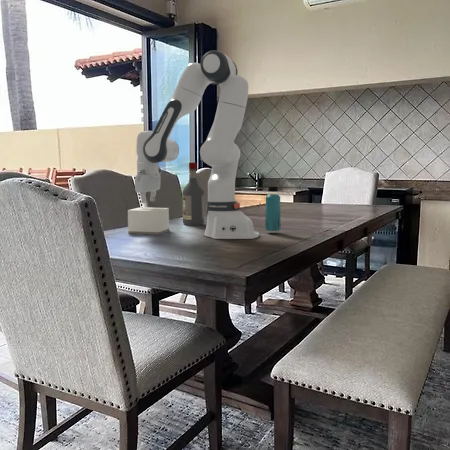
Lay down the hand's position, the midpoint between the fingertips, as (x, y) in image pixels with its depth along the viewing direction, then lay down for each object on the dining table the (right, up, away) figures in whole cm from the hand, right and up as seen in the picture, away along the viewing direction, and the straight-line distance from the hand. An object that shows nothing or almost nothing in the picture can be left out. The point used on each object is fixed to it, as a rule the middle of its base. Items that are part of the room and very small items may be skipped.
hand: (148, 202), depth 193 cm
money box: (0, -13, +2) cm, 13 cm away
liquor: (+18, -10, +26) cm, 33 cm away
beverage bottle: (+53, -14, -3) cm, 55 cm away
